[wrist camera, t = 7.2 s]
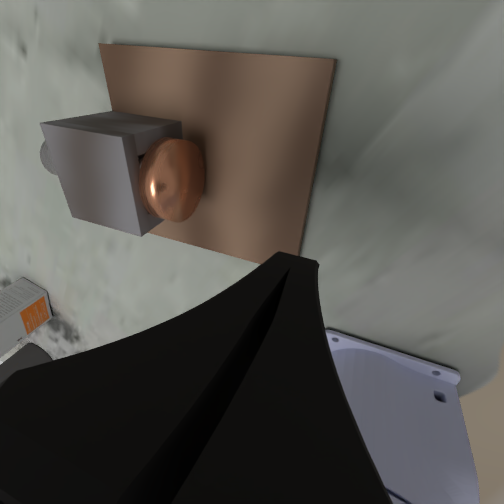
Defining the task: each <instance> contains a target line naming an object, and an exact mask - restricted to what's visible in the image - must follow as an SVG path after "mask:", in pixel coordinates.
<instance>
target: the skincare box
mask: <svg viewBox="0 0 504 504" xmlns="http://www.w3.org/2000/svg"><path fill="white" fill-rule="evenodd" d="M51 318H52V314H51V309H50V305H49V300H48V296H47V291H46V290H44V289H42V288H40V287H39V286H37V285H35V284H33V283H32V282H30V281H28V280H27V279H25V278H21V279H19V280H17V281H16V282H14V283H12V284H11V285H9V286H7V287H6V288H4V289H2V290H0V357H2V356H3V355H4V354H6V353H7V352H8V351H10V350H11V349H12V348H13V347H15V346H16V345H17V344H19V343H20V342H21V341H23V340H24V339H25V338H26V337H28V336H29V335H30V334H32V333H33V332H34V331H36V330H37V329H38V328H40V327H41V326H42V325H44V324H45V323H46V322H48V321H49V320H50V319H51Z"/></svg>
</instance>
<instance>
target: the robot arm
mask: <svg viewBox="0 0 504 504" xmlns="http://www.w3.org/2000/svg"><path fill="white" fill-rule="evenodd" d="M318 268H319V264H318V262H317V261H315V260H312V259H308V258H304V257H300V256H296V255H293V254H289V253H285V252H281V251H278V252H276V253H275V254H274V255H272V256H271V257H270V258H269V259H267V260H266V261H265V262H264V263H262V264H261V265H260V266H258V267H257V268H256V269H255V270H253V271H252V272H250V273H249V274H248V275H246V276H245V277H243V278H242V279H241V280H239V281H238V282H236V283H235V284H233V285H232V286H230V287H229V288H227V289H225V290H224V291H222V292H221V293H219V294H217V295H216V296H214V297H213V298H211V299H209V300H207V301H206V302H204V303H202V304H200V305H198V306H196V307H195V308H193V309H191V310H189V311H187V312H185V313H183V314H181V315H179V316H176V317H174V318H172V319H170V320H168V321H165V322H163V323H161V324H159V325H156V326H154V327H151V328H149V329H147V330H144V331H142V332H140V333H137V334H134V335H132V336H129V337H126V338H123V339H120V340H118V341H115V342H112V343H109V344H106V345H103V346H100V347H97V348H94V349H91V350H88V351H85V352H81V353H78V354H75V355H71V356H68V357H64V358H61V359H57V360H53V361H50V362H46V363H43V364H39V365H36V366H32V367H28V368H24V369H21V370H17V371H15V372H14V373H13V374H11V375H10V376H9V377H8V378H6V379H5V380H4V381H3V382H2V383H0V504H479V503H480V501H479V500H480V499H479V485H478V478H477V473H476V468H475V464H474V460H473V455H472V452H471V447H470V443H469V439H468V434H467V430H466V426H465V422H464V418H463V413H462V410H461V405H460V401H459V397H458V392H457V388H456V385H457V384H458V382H459V381H460V380H461V377H460V374H459V372H458V371H456V370H453V369H450V368H447V367H444V366H441V365H438V364H434V363H431V362H428V361H425V360H422V359H419V358H416V357H413V356H410V355H407V354H403V353H400V352H397V351H394V350H391V349H388V348H385V347H382V346H379V345H376V344H372V343H369V342H366V341H363V340H360V339H357V338H354V337H351V336H348V335H345V334H341V333H338V332H335V331H332V330H325V327H324V323H323V317H322V312H321V306H320V299H319V291H318ZM334 337H335V338H334Z"/></svg>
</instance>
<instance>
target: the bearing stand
mask: <svg viewBox="0 0 504 504" xmlns="http://www.w3.org/2000/svg"><path fill="white" fill-rule="evenodd" d="M99 48H100V53H101V58H102V63H103V67H104V72H105V77H106V82H107V87H108V92H109V96H110V101H111V106H112V111H110V112H104V113H98V114H92V115H85V116H79V117H73V118H67V119H61V120H55V121H49V122H43V123H40V126H41V129H42V132H43V134H44V137H45V140H46V143H47V146H48V149H49V152H50V154H51V157H52V160H53V163H54V166H55V169H56V171H57V174H58V177H59V180H60V183H61V186H62V189H63V191H64V194H65V197H66V200H67V203H68V206H69V209H70V211H71V214H72V217H74V218H78V219H81V220H85V221H88V222H92V223H95V224H99V225H102V226H106V227H109V228H113V229H116V230H120V231H123V232H127V233H130V234H134V235H137V236H141V237H142V236H143V235H144V234H146V233H147V232H148V233H151V234H155V235H158V236H162V237H165V238H169V239H173V240H176V241H180V242H183V243H187V244H191V245H194V246H198V247H201V248H205V249H208V250H212V251H216V252H219V253H223V254H226V255H230V256H234V257H237V258H241V259H244V260H248V261H251V262H255V263H259V264H262V263H264V262H265V261H266V260H267V259H269V258H270V257H271V256H272V255H274V254H275V253H276V252H278V251H281V252H285V253H289V254H293V255H296V256H299V254H300V249H301V244H302V239H303V234H304V228H305V223H306V218H307V213H308V208H309V202H310V197H311V192H312V187H313V182H314V177H315V171H316V166H317V161H318V156H319V151H320V145H321V140H322V135H323V130H324V125H325V120H326V114H327V109H328V104H329V99H330V94H331V88H332V83H333V78H334V73H335V68H336V63H337V60H336V59H323V58H308V57H294V56H279V55H264V54H249V53H234V52H219V51H205V50H190V49H175V48H160V47H145V46H131V45H116V44H101V43H99ZM163 137H170V138H176V139H182V140H188V141H191V142H193V143H194V144H195V145H196V146H197V147H198V148H199V150H200V152H201V154H202V158H203V162H204V169H205V180H204V188H203V193H202V196H201V199H200V202H199V204H198V206H197V208H196V210H195V211H194V213H193V214H192V215H191V217H189V218H188V219H187V220H185V221H183V222H180V223H177V222H173V221H169V220H165V219H161V218H157V217H154V216H153V215H151V214H150V213H149V212H148V211H147V210H146V208H145V206H144V204H143V202H142V199H141V195H140V190H139V174H140V166H139V160H138V156H139V155H141V154H144V153H146V152H147V150H148V149H149V147H150V146H151V145H152V144H153V143H154V142H155V141H156V140H158V139H160V138H163Z"/></svg>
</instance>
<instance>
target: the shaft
mask: <svg viewBox="0 0 504 504" xmlns="http://www.w3.org/2000/svg"><path fill="white" fill-rule="evenodd" d="M40 158H41V162H42V164H43V165H44V167H45V168H46V169H47V170H48V171H49V172H50V173H52V174H54V175H58V174H57V171H56V169H55V166H54V163H53V160H52V157H51V154H50V152H49V149H48V146H47V143H46V140H45V141H44V142H43V144H42V146H41V149H40ZM138 160H139V166H140V174H139V190H140V195H141V199H142V202H143V204H144V206H145V208H146V210H147V211H148V212H149V213H150V214H151V215H153V216H154V217H157V218H161V219H165V220H169V221H173V222H177V223H180V222H183V221H185V220H187V219H188V218H189V217H191V215H192V214H193V213H194V211H195V210H196V208H197V206H198V204H199V202H200V199H201V196H202V193H203V188H204V180H205V169H204V162H203V158H202V154H201V152H200V150H199V148H198V147H197V146H196V145H195V144H194V143H193V142H191V141H188V140H182V139H176V138H170V137H163V138H160V139H158V140H156V141H155V142H154V143H153V144H152V145H151V146H150V147H149V149H148V150H147V152H146V153H144V154H141V155H139V156H138Z"/></svg>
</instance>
